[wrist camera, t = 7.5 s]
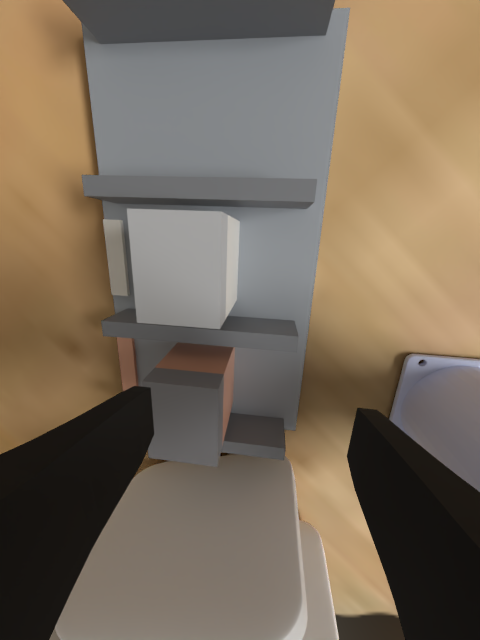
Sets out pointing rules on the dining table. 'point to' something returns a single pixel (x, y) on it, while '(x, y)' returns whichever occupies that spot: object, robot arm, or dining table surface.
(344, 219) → the dining table surface
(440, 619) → the robot arm
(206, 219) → the grey rectangular block
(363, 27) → the dining table surface
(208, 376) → the brown and grey box
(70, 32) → the dining table surface
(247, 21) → the grey tiered rack
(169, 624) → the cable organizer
